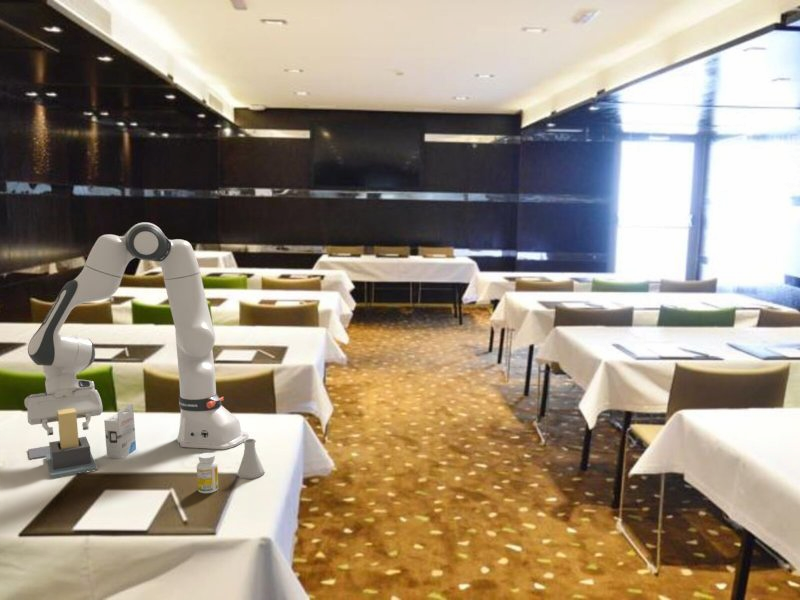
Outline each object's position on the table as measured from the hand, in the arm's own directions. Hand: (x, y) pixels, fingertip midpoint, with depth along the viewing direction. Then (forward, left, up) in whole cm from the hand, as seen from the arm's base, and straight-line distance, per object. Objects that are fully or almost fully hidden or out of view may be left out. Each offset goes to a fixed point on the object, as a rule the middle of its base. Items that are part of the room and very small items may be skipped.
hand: (68, 431), depth 218 cm
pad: (+15, -5, -10) cm, 19 cm away
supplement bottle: (-49, +2, -10) cm, 50 cm away
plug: (0, 0, -8) cm, 8 cm away
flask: (-54, -11, -10) cm, 56 cm away
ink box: (-8, -12, -10) cm, 18 cm away
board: (0, 0, -10) cm, 10 cm away
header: (0, 0, -10) cm, 10 cm away
